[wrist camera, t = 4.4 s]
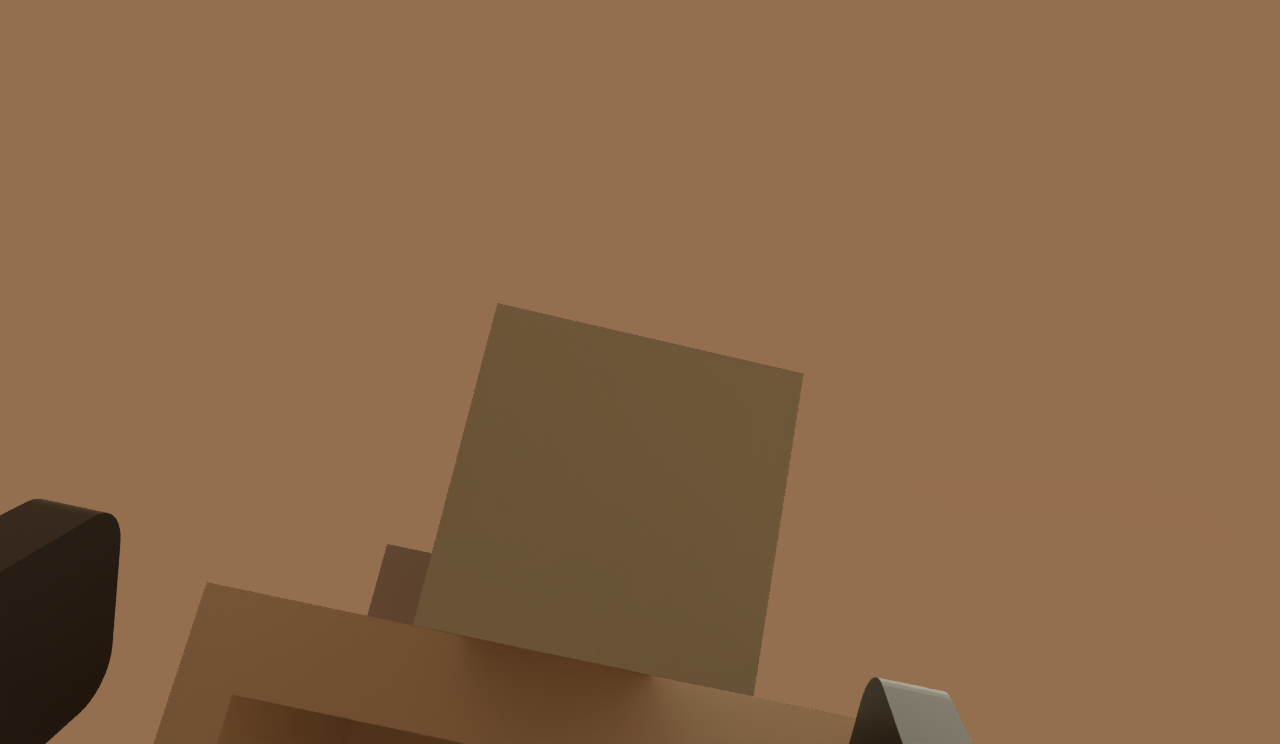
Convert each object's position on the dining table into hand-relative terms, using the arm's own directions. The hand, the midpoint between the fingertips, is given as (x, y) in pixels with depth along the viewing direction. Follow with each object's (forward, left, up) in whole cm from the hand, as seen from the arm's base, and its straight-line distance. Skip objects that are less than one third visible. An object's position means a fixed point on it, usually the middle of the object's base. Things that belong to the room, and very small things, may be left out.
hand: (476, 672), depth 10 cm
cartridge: (-3, +10, 0) cm, 11 cm away
